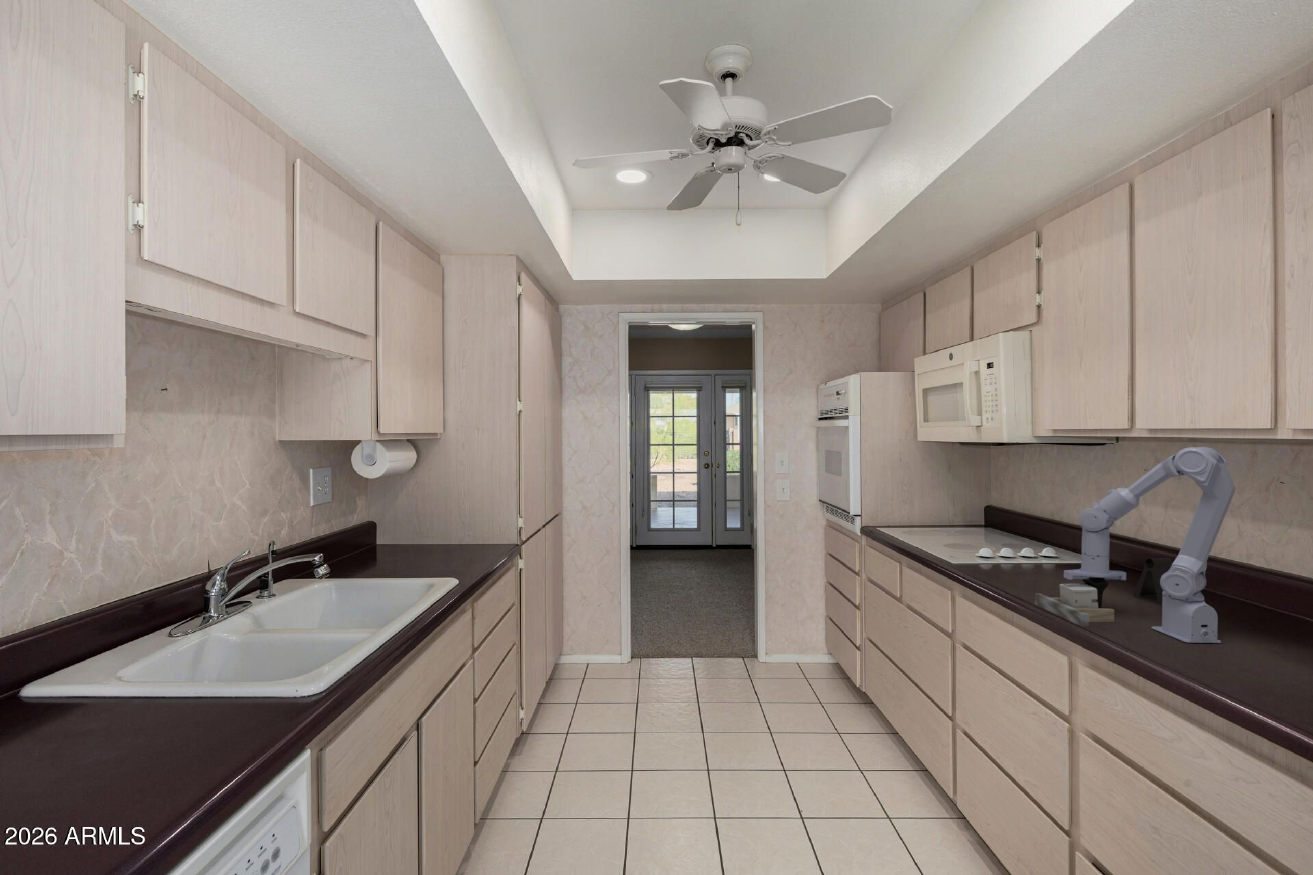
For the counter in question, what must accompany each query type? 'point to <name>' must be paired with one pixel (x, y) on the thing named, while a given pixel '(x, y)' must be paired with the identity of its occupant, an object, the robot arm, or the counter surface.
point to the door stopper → (1152, 579)
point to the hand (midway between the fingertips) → (1094, 606)
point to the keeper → (1074, 611)
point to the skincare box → (1079, 595)
